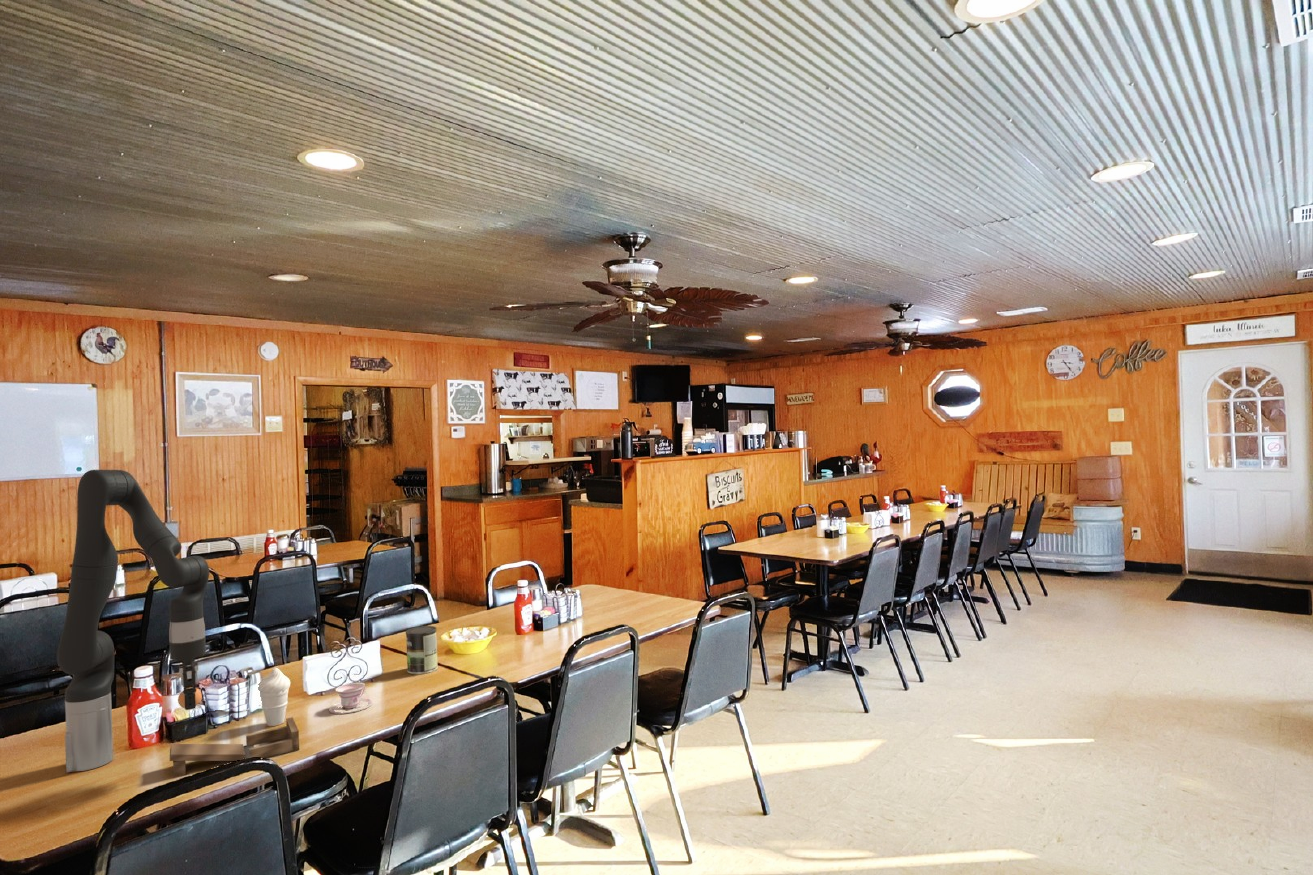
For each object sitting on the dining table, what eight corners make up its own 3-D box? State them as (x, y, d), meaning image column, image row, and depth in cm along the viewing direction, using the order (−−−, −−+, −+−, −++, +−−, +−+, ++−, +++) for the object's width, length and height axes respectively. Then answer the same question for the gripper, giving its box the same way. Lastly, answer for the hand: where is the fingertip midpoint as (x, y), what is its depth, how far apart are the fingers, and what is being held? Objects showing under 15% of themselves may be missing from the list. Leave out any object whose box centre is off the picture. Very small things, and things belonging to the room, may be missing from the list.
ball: (202, 708, 180) (201, 688, 180) (178, 713, 177) (177, 692, 178) (201, 702, 184) (201, 683, 184) (178, 707, 182) (177, 687, 182)
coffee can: (409, 676, 247) (407, 634, 247) (405, 668, 256) (404, 628, 256) (440, 671, 251) (438, 630, 251) (435, 663, 261) (434, 624, 261)
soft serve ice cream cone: (252, 726, 206) (250, 670, 207) (279, 716, 214) (277, 661, 214) (271, 730, 203) (269, 673, 203) (298, 720, 210) (296, 664, 210)
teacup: (342, 717, 211) (341, 696, 211) (321, 709, 218) (320, 689, 218) (380, 704, 221) (379, 684, 221) (358, 697, 228) (357, 678, 228)
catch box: (246, 762, 182) (245, 742, 182) (243, 747, 192) (242, 728, 192) (299, 749, 188) (298, 730, 189) (293, 735, 199) (292, 717, 199)
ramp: (170, 778, 175) (169, 754, 175) (170, 766, 182) (169, 744, 182) (245, 760, 184) (244, 737, 184) (243, 749, 190) (242, 728, 190)
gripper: (206, 640, 177) (209, 710, 177) (204, 629, 189) (206, 694, 189) (169, 646, 173) (172, 717, 173) (169, 634, 185) (172, 701, 185)
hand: (190, 705), depth 181 cm, fingers closed on ball, 5 cm apart
